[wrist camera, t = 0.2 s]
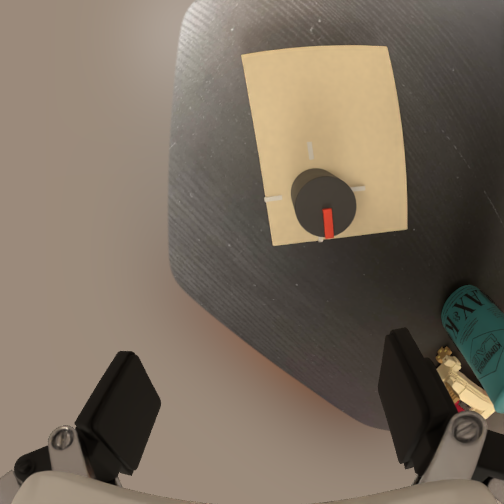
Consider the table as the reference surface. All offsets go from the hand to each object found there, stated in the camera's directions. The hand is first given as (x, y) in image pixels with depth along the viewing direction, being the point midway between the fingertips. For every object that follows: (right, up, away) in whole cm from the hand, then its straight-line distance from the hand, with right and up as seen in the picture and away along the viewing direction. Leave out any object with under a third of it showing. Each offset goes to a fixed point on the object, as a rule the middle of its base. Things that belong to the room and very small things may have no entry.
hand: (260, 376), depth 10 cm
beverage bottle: (+24, -1, +19) cm, 31 cm away
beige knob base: (+6, +14, +14) cm, 21 cm away
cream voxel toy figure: (+34, -16, +24) cm, 45 cm away
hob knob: (+5, +9, +12) cm, 16 cm away
